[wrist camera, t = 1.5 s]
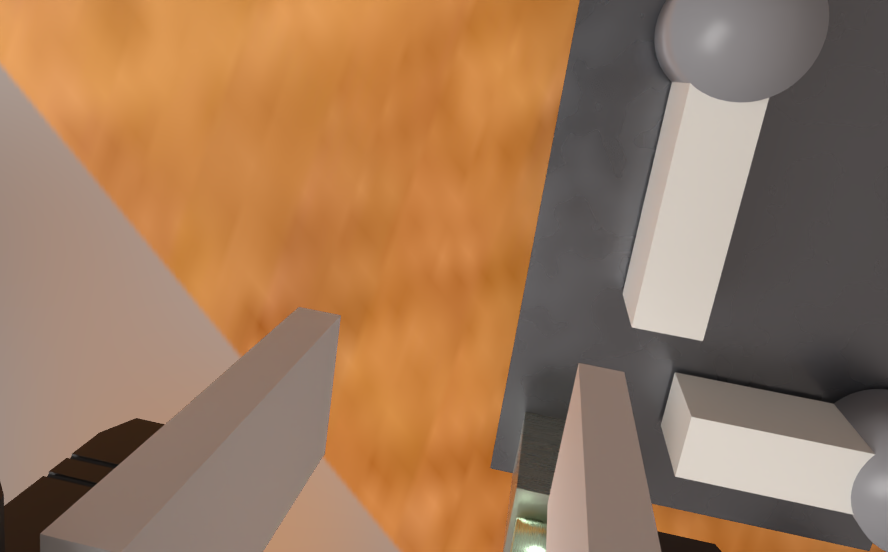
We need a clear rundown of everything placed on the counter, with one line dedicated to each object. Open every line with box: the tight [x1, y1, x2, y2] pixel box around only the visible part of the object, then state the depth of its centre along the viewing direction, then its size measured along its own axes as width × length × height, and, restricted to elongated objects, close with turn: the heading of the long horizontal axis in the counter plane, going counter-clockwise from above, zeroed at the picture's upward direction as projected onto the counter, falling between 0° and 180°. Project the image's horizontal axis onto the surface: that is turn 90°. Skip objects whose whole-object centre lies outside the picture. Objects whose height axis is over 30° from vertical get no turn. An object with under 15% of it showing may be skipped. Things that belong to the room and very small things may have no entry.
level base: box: [490, 0, 888, 552], centre depth 25 cm, size 23×16×9 cm
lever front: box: [623, 0, 829, 341], centre depth 25 cm, size 12×4×4 cm, turn 171°
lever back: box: [661, 372, 888, 552], centre depth 27 cm, size 10×4×4 cm, turn 81°
